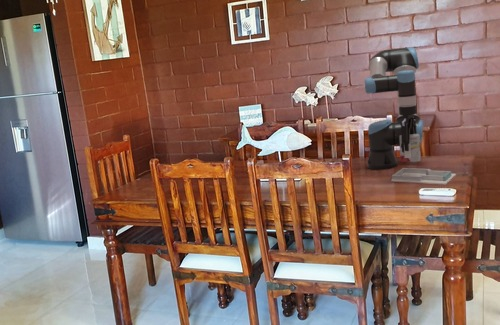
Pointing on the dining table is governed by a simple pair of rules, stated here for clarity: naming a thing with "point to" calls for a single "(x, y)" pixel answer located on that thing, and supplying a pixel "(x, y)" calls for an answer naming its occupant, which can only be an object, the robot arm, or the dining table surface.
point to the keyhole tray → (422, 176)
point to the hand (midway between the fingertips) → (410, 156)
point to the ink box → (415, 149)
